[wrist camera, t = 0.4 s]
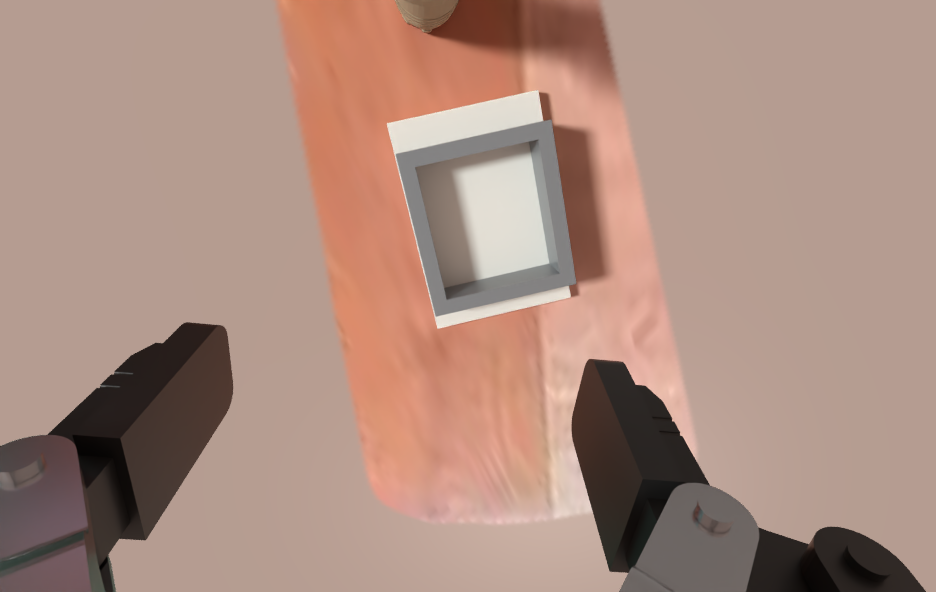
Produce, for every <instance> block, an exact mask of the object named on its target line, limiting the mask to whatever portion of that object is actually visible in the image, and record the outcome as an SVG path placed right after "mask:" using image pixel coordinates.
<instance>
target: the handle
mask: <svg viewBox="0 0 936 592" xmlns="http://www.w3.org/2000/svg"><path fill="white" fill-rule="evenodd" d="M458 1H459V0H395V2H396V4H397V7H398V9H399V11H400V13H401V14H402V16H403V18H404V20H405V22H406V23H407V24H409V25H413V26H415V27H417V28H420V29H421V30H422V31H423V32H424V33H430V32H431V31H432V29H434V28H437V27H439V26H441V25H442V24H443V23H445V22H446V21H447V20H448V19H449V17H450V16H451V15H452V13H453V11H454V9H455V8H456V6H457V3H458Z"/></svg>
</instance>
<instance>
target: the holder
mask: <svg viewBox="0 0 936 592" xmlns="http://www.w3.org/2000/svg"><path fill="white" fill-rule="evenodd" d="M387 126H388V130H389V134H390V138H391V142H392V146H393V150H394V154H395V159H396V163H397V167H398V171H399V175H400V179H401V183H402V187H403V191H404V195H405V199H406V203H407V207H408V211H409V215H410V219H411V223H412V227H413V231H414V235H415V239H416V243H417V247H418V251H419V255H420V259H421V263H422V267H423V271H424V275H425V280H426V284H427V288H428V292H429V296H430V300H431V304H432V308H433V312H434V316H435V320H436V324H437V328H443V327H447V326H451V325H455V324H460V323H464V322H468V321H472V320H477V319H481V318H485V317H489V316H494V315H498V314H502V313H506V312H511V311H515V310H519V309H523V308H528V307H532V306H536V305H540V304H545V303H549V302H553V301H557V300H562V299H566V298H570V297H571V295H570V289H569V285H574V284H576V278H575V271H574V265H573V258H572V252H571V245H570V238H569V232H568V225H567V219H566V212H565V206H564V199H563V192H562V186H561V179H560V173H559V166H558V160H557V153H556V146H555V140H554V133H553V127H552V120H546V121H543V117H542V111H541V104H540V98H539V91H538V90H536V91H531V92H527V93H522V94H518V95H513V96H509V97H504V98H500V99H495V100H491V101H486V102H482V103H477V104H473V105H468V106H463V107H459V108H454V109H450V110H445V111H441V112H436V113H432V114H427V115H423V116H418V117H414V118H409V119H405V120H400V121H396V122H391V123H387Z"/></svg>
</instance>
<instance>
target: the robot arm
mask: <svg viewBox="0 0 936 592" xmlns="http://www.w3.org/2000/svg"><path fill="white" fill-rule="evenodd" d="M232 395H233V380H232V371H231V361H230V353H229V344H228V336H227V331H226V329H225V328H224V327H223V326H221V325H210V324H199V323H188V322H187V323H184V324H182V325H181V326H180V327H179V328H178V329H177V330H176V331H175V332H174V333H173V334H172V335H171V336H170V337H169V338H168V339H167V340H166V341H165V342H164V343H155V344H153V345H151V346H149V347H147V348H145V349H143V350H141V351H139V352H137V353H135V354H133V355H131V356H130V357H129V358H128V359H127V360H126V361H125V362H124V363H123V364H122V365H121V366H120V367H119V368H118V369H116V370H115V373H114V375H110V376H109V377H108V378H107V379H106V380H105V381H104V382H103V383H102V384H101V386H100V388H96V389H95V390H94V391H93V392H92V393H91V394H90V395H89V396H88V397H87V398H86V399H85V400H84V401H83V402H82V403H80V404H79V405H78V406H77V407H76V408H75V409H74V410H73V411H72V412H71V413H70V414H69V415H68V416H67V417H66V418H65V419H64V420H62V421H61V422H60V423H59V424H58V425H57V426H56V427H55V428H54V429H53V430H52V431H51V432H50V433H49V434H48V435H39V436H31V437H27V438H22V439H18V440H15V441H12V442H9V443H7V444H4V445H2V446H0V592H116V588H115V584H114V578H113V571H112V566H111V561H110V558H109V555H108V554H109V552H110V551H111V550H112V548H113V547H114V545H115V544H116V542H117V541H118V540H119V539H133V540H146V539H147V538H148V536H149V534H150V533H151V531H152V530H153V528H154V527H155V525H156V523H157V522H158V520H159V519H160V517H161V515H162V514H163V512H164V511H165V509H166V508H167V506H168V504H169V503H170V501H171V500H172V498H173V496H174V495H175V493H176V492H177V490H178V489H179V487H180V485H181V484H182V482H183V481H184V479H185V478H186V476H187V475H188V473H189V471H190V470H191V468H192V467H193V465H194V463H195V462H196V460H197V459H198V457H199V456H200V454H201V453H202V451H203V449H204V448H205V446H206V445H207V443H208V442H209V440H210V438H211V437H212V435H213V434H214V432H215V430H216V429H217V427H218V426H219V424H220V423H221V421H222V419H223V418H224V416H225V415H226V413H227V411H228V409H229V406H230V404H231V399H232ZM572 438H573V443H574V446H575V450H576V454H577V457H578V461H579V464H580V468H581V471H582V475H583V478H584V482H585V486H586V489H587V493H588V496H589V500H590V503H591V507H592V510H593V514H594V518H595V521H596V524H597V528H598V532H599V535H600V539H601V542H602V546H603V550H604V553H605V556H606V560H607V564H608V567H609V571H611V572H627V573H628V575H627V577H626V579H625V581H624V583H623V585H622V587H621V589H620V591H619V592H926V591H925V590H924V589H923V587H922V586H921V585H920V583H918V581H917V580H916V579H915V577H914V576H913V575H912V573H910V571H909V570H908V569H907V567H906V566H905V565H904V564H903V563H902V562H901V561H900V560H899V559H898V558H897V557H896V556H895V555H893V554H892V553H891V552H890V551H888V550H887V549H886V548H884V547H883V546H881V545H880V544H879V543H877V542H875V541H874V540H872V539H870V538H868V537H866V536H864V535H862V534H860V533H857V532H855V531H852V530H849V529H845V528H840V527H825V528H822V529H820V530H819V531H817V532H816V534H815V536H814V537H813V539H812V541H811V542H810V544H806V543H803V542H800V541H797V540H794V539H791V538H787V537H785V536H782V535H778V534H775V533H772V532H769V531H766V530H764V529H761V528H758V526H757V523H756V521H755V520H754V518H753V516H752V515H751V514H750V512H749V511H748V510H747V509H746V508H745V507H744V506H743V505H742V504H741V503H740V502H739V501H737V500H736V499H735V498H733V497H732V496H730V495H729V494H727V493H725V492H723V491H722V490H720V489H717V488H715V487H712V486H710V485H709V483H708V481H707V479H706V478H705V476H704V474H703V472H702V470H701V469H700V467H699V465H698V463H697V462H696V460H695V458H694V456H693V454H692V453H691V451H690V449H689V447H688V446H687V444H686V442H685V440H684V438H683V437H682V436H680V431H679V430H678V428H677V426H676V424H675V422H672V417H671V415H670V414H669V412H668V410H667V408H666V406H665V405H664V403H663V401H662V400H661V399H659V398H658V397H657V396H656V395H655V394H654V393H653V392H652V391H651V390H649V389H648V388H647V387H646V386H642V385H635V383H634V381H633V379H632V377H631V375H630V373H629V371H628V369H627V367H626V365H625V364H624V363H623V362H619V361H608V360H597V359H589V360H588V361H587V363H586V365H585V368H584V372H583V376H582V380H581V384H580V388H579V391H578V395H577V399H576V403H575V407H574V411H573V416H572Z"/></svg>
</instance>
